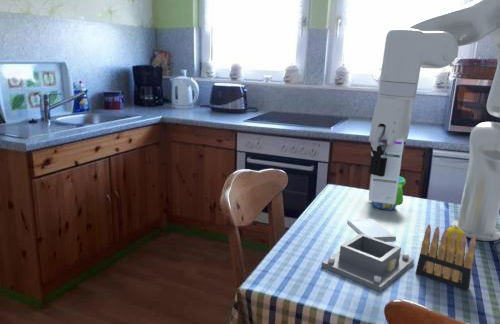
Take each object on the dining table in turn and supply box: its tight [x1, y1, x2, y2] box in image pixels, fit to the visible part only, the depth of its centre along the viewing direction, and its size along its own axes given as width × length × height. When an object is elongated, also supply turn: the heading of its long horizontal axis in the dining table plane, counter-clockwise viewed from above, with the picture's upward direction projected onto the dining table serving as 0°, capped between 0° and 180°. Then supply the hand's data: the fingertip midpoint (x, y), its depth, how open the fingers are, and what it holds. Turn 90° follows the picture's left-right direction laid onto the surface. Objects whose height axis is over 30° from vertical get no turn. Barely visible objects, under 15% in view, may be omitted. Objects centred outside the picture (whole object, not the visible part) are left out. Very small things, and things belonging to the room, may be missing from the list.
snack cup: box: [370, 175, 406, 211], centre depth 133 cm, size 16×10×10 cm
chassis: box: [321, 234, 415, 293], centre depth 95 cm, size 18×14×5 cm
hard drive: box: [347, 218, 397, 242], centre depth 115 cm, size 2×8×12 cm
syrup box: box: [368, 137, 404, 205], centre depth 90 cm, size 6×6×14 cm
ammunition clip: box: [415, 223, 476, 292], centre depth 89 cm, size 11×2×12 cm, turn 53°
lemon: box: [440, 226, 464, 256], centre depth 101 cm, size 6×6×8 cm
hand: (385, 171), depth 90 cm, fingers closed on syrup box, 7 cm apart
